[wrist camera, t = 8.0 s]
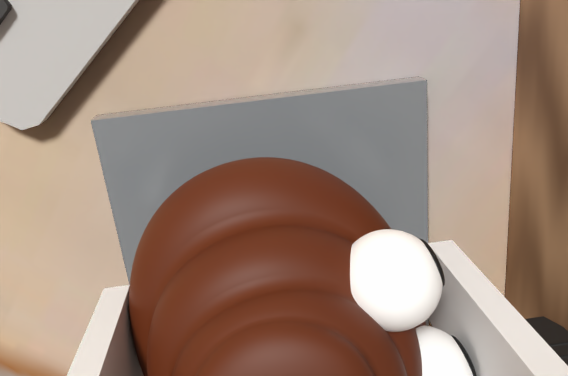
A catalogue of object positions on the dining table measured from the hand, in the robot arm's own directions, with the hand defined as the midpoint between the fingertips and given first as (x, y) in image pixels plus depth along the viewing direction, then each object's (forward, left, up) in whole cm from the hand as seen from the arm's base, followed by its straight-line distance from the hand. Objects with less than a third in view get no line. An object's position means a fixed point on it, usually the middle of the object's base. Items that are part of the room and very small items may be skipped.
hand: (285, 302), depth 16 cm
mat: (0, 0, -4) cm, 4 cm away
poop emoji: (0, 0, -1) cm, 1 cm away
